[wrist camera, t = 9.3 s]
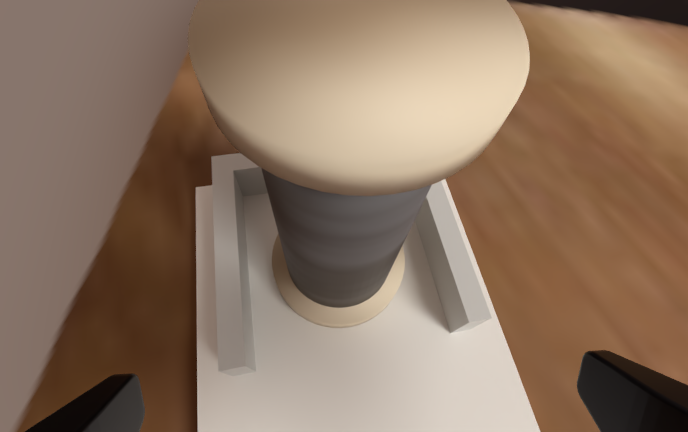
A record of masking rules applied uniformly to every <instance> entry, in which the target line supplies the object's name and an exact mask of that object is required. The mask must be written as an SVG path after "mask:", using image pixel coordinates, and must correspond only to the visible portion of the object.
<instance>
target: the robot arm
mask: <svg viewBox="0 0 688 432" xmlns="http://www.w3.org/2000/svg"><path fill="white" fill-rule="evenodd" d="M577 389H578V393H579V395H580V397H581V399H582V401H583V402H584V404H585V406H586V408H587V409H588V411H589V413H590V414H591V416H592V418H593V419H594V421H595V423H596V425H597V426H598V428H599V430H600V431H601V432H688V385H686V384H684V383H681V382H679V381H677V380H674V379H672V378H670V377H667V376H665V375H663V374H661V373H658V372H656V371H654V370H651V369H649V368H647V367H644V366H642V365H640V364H638V363H635V362H633V361H631V360H628V359H626V358H624V357H621V356H619V355H617V354H615V353H612V352H610V351H606V350H599V351H588V352H586V353H585V354H584V355H583V358H582V363H581V367H580V371H579V376H578V380H577ZM144 414H145V408H144V402H143V397H142V392H141V387H140V382H139V378H138V377H137V375H135V374H116V375H112V376H110V377H108V378H107V379H105V380H104V381H102V382H101V383H99V384H98V385H96V386H94V387H93V388H91V389H90V390H88V391H87V392H85V393H84V394H82V395H81V396H79V397H77V398H76V399H74V400H73V401H71V402H70V403H68V404H67V405H65V406H64V407H62V408H60V409H59V410H57V411H56V412H54V413H53V414H51V415H50V416H48V417H47V418H45V419H43V420H42V421H40V422H39V423H37V424H36V425H34V426H33V427H31V428H30V429H28V430H26V431H25V432H139V431H140V429H141V426H142V423H143V419H144Z"/></svg>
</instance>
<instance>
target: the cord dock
mask: <svg viewBox="0 0 688 432" xmlns="http://www.w3.org/2000/svg"><path fill="white" fill-rule="evenodd" d="M211 160H212V185H210V186H202V187H196V293H197V416H198V432H540V430H539V427H538V424H537V422H536V419H535V416H534V414H533V411H532V409H531V406H530V403H529V401H528V398H527V395H526V393H525V390H524V387H523V385H522V382H521V379H520V377H519V374H518V371H517V369H516V366H515V363H514V361H513V358H512V355H511V353H510V350H509V347H508V345H507V342H506V339H505V337H504V334H503V332H502V329H501V326H500V324H499V321H498V318H497V316H496V313H495V310H494V308H493V305H492V302H491V300H490V297H489V294H488V292H487V289H486V286H485V284H484V281H483V278H482V276H481V273H480V270H479V268H478V265H477V263H476V260H475V257H474V255H473V252H472V249H471V247H470V244H469V241H468V239H467V236H466V233H465V231H464V228H463V225H462V223H461V220H460V217H459V215H458V212H457V209H456V207H455V204H454V201H453V199H452V196H451V193H450V191H449V188H448V186H447V183H446V180H445V179H444V180H442V181H439V182H437V183H435V184H432V186H431V188H430V190H429V192H428V194H427V196H426V198H425V200H424V202H423V204H422V206H421V208H420V210H419V212H418V214H417V217H416V219H415V221H414V223H413V225H412V227H411V229H410V231H409V233H408V235H407V237H406V239H405V241H404V243H403V250H404V256H405V268H404V274H403V279H402V281H401V284H400V287H399V288H398V290H397V292H396V294H395V295H394V297H393V299H392V300H391V301H390V303H389V304H388V306H387V307H386V308H385V309H384V310H383V311H382V312H381V313H379V314H378V315H377V316H375V317H374V318H372V319H371V320H369V321H367V322H365V323H362V324H360V325H356V326H352V327H346V328H330V327H324V326H320V325H317V324H314V323H312V322H310V321H307V320H306V319H304V318H302V317H301V316H299V315H298V314H297V313H296V312H295V311H293V310H292V309H291V308H290V306H289V305H288V304H287V303H286V301H285V300H284V299H283V297H282V295H281V293H280V291H279V289H278V286H277V284H276V281H275V278H274V275H273V269H272V251H273V247H274V243H275V240H276V237H277V235H278V230H277V226H276V222H275V218H274V215H273V211H272V207H271V203H270V199H269V196H268V192H267V188H266V184H265V180H264V177H263V173H262V169H261V167H259V166H257V165H256V164H255V163H253V162H252V161H251V160H249V159H248V158H247V157H245V156H244V155H243V154H241V153H236V154H228V155H219V156H211Z"/></svg>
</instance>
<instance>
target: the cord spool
mask: <svg viewBox="0 0 688 432" xmlns="http://www.w3.org/2000/svg"><path fill="white" fill-rule="evenodd" d="M188 46H189V55H190V58H191V61H192V65H193V68H194V71H195V74H196V76H197V79H198V81H199V84H200V87H201V89H202V92H203V94H204V97H205V100H206V102H207V105H208V107H209V110H210V112H211V114H212V116H213V118H214V120H215V122H216V124H217V126H218V127H219V129H220V130H221V131H222V133H223V134H224V135H225V137H226V138H227V140H228V141H229V142H230V143H231V144H232V145H233V146H234V147H235V148H236V149H237V150H238V151H239V152H240V153H241V154H243V155H244V156H245V157H247V158H248V159H249V160H251V161H252V162H253V163H255V164H256V165H257V166H259V167H261V169H262V173H263V177H264V180H265V184H266V188H267V192H268V196H269V199H270V203H271V207H272V211H273V215H274V218H275V222H276V226H277V230H278V235H277V237H276V240H275V243H274V247H273V251H272V269H273V275H274V278H275V281H276V284H277V286H278V289H279V291H280V293H281V295H282V297H283V299H284V300H285V301H286V303H287V304H288V305H289V306H290V308H291V309H292V310H293V311H295V312H296V313H297V314H298V315H299V316H301V317H302V318H304V319H306V320H307V321H310V322H312V323H314V324H317V325H320V326H324V327H330V328H346V327H352V326H356V325H360V324H362V323H365V322H367V321H369V320H371V319H372V318H374V317H375V316H377V315H378V314H379V313H381V312H382V311H383V310H384V309H385V308H386V307H387V306H388V304H389V303H390V301H391V300H392V299H393V297H394V295H395V294H396V292H397V290H398V288H399V287H400V284H401V281H402V279H403V274H404V268H405V256H404V250H403V243H404V241H405V239H406V237H407V235H408V233H409V231H410V229H411V227H412V225H413V223H414V221H415V219H416V217H417V214H418V212H419V210H420V208H421V206H422V204H423V202H424V200H425V198H426V196H427V194H428V192H429V190H430V188H431V186H432V184H435V183H437V182H439V181H442V180H444V179H446V178H448V177H450V176H452V175H454V174H456V173H457V172H459V171H460V170H462V169H463V168H465V167H466V166H468V165H469V164H470V163H472V162H473V161H474V160H475V159H476V158H477V157H478V156H479V155H480V154H481V153H482V152H483V151H484V150H485V149H486V147H487V146H488V145H489V144H490V142H491V141H492V140H493V138H494V137H495V135H496V134H497V132H498V130H499V129H500V127H501V126H502V124H503V122H504V121H505V119H506V118H507V116H508V114H509V113H510V111H511V110H512V108H513V107H514V105H515V103H516V102H517V100H518V98H519V96H520V94H521V92H522V90H523V88H524V86H525V83H526V80H527V76H528V72H529V61H530V53H529V46H528V40H527V37H526V34H525V31H524V28H523V26H522V24H521V22H520V20H519V18H518V16H517V14H516V13H515V11H514V10H513V9H512V7H511V6H510V5H509V3H508V2H507V1H506V0H199V1H198V3H197V5H196V7H195V8H194V11H193V14H192V17H191V20H190V24H189V32H188Z"/></svg>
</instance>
